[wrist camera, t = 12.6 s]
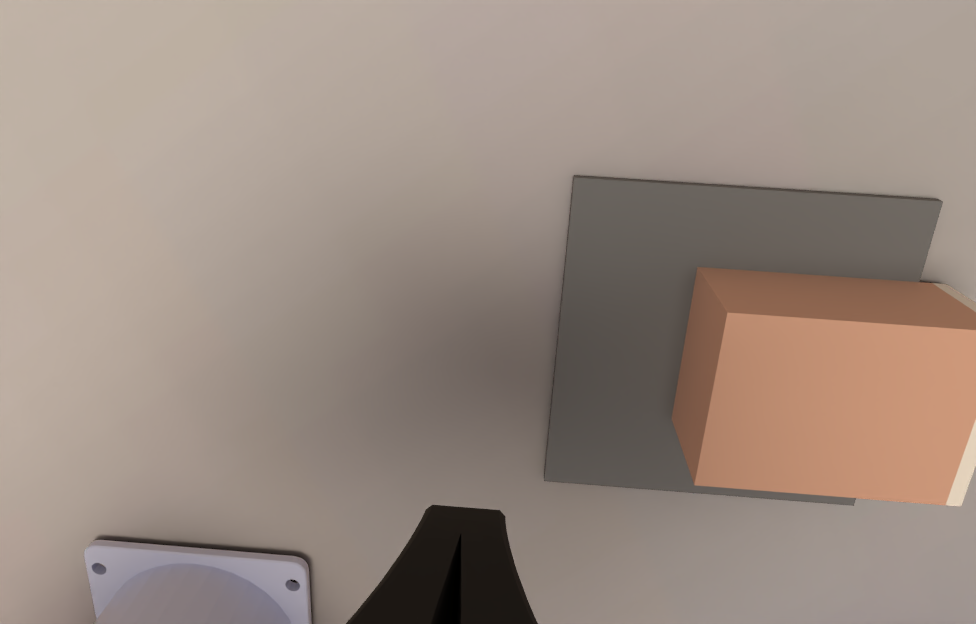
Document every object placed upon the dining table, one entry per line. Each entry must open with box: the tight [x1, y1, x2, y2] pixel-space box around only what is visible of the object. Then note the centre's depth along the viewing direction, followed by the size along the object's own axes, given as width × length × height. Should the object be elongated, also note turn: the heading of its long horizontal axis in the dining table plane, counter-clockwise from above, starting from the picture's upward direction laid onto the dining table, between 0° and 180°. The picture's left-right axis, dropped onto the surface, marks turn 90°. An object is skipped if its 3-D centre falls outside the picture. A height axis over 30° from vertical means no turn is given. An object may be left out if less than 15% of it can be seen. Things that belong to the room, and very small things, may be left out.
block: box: [672, 267, 976, 506], centre depth 20 cm, size 5×4×7 cm
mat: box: [544, 175, 943, 506], centre depth 22 cm, size 10×10×1 cm
